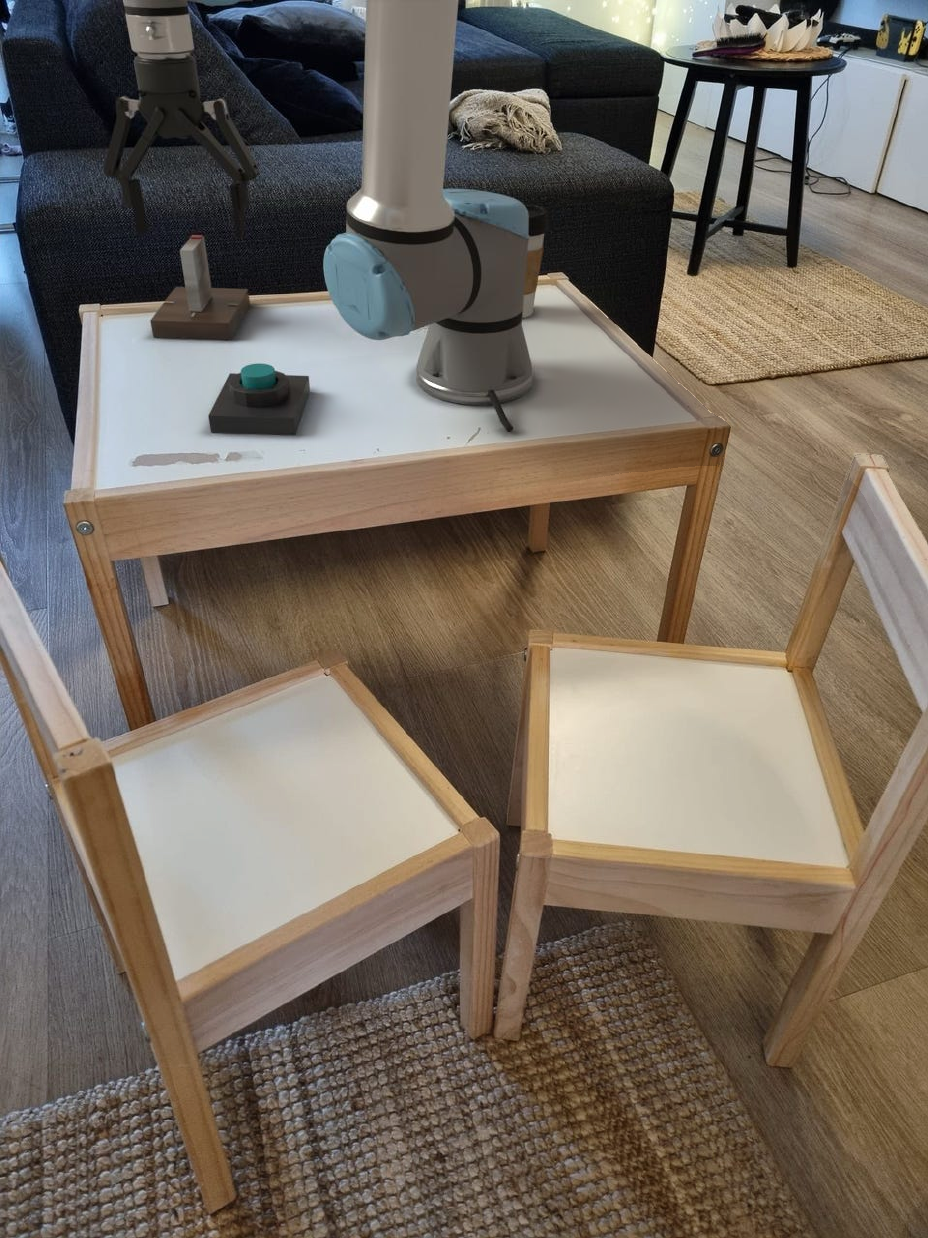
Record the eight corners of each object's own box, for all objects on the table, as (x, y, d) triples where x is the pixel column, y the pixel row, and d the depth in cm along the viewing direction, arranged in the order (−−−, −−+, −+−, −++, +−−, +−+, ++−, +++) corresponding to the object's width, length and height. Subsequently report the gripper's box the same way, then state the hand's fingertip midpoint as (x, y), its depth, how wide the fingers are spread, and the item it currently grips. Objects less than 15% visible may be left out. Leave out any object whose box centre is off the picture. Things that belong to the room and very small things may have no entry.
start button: (273, 391, 109) (271, 377, 108) (239, 390, 109) (237, 376, 108) (278, 377, 112) (277, 363, 111) (245, 376, 112) (244, 362, 111)
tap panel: (231, 340, 130) (228, 321, 128) (153, 337, 130) (149, 319, 128) (250, 305, 141) (248, 287, 139) (178, 302, 141) (175, 285, 139)
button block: (295, 435, 108) (292, 403, 106) (210, 432, 108) (205, 401, 106) (310, 391, 118) (307, 361, 115) (232, 389, 118) (228, 359, 115)
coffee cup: (541, 322, 139) (550, 218, 130) (486, 320, 139) (490, 215, 130) (539, 303, 145) (547, 202, 136) (486, 301, 145) (490, 200, 136)
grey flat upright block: (201, 311, 131) (192, 248, 126) (189, 311, 131) (179, 248, 126) (212, 296, 136) (203, 234, 131) (200, 295, 136) (191, 234, 131)
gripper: (52, 56, 112) (93, 238, 125) (258, 60, 112) (277, 242, 125) (74, 48, 118) (110, 223, 131) (269, 52, 118) (286, 227, 131)
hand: (191, 233), depth 128 cm, fingers open, 13 cm apart
